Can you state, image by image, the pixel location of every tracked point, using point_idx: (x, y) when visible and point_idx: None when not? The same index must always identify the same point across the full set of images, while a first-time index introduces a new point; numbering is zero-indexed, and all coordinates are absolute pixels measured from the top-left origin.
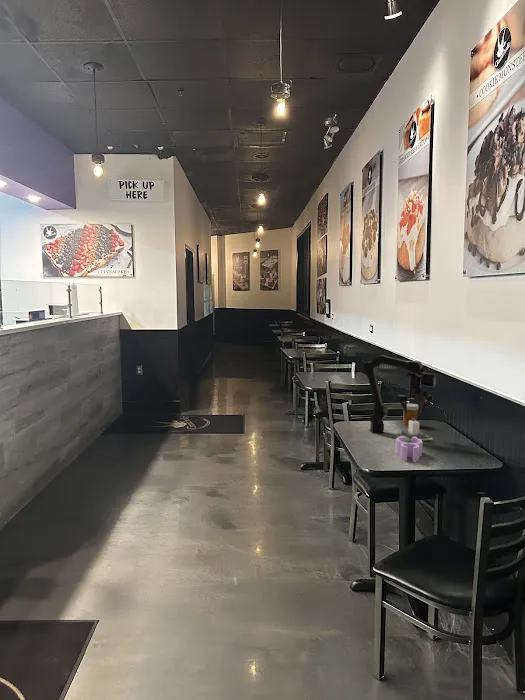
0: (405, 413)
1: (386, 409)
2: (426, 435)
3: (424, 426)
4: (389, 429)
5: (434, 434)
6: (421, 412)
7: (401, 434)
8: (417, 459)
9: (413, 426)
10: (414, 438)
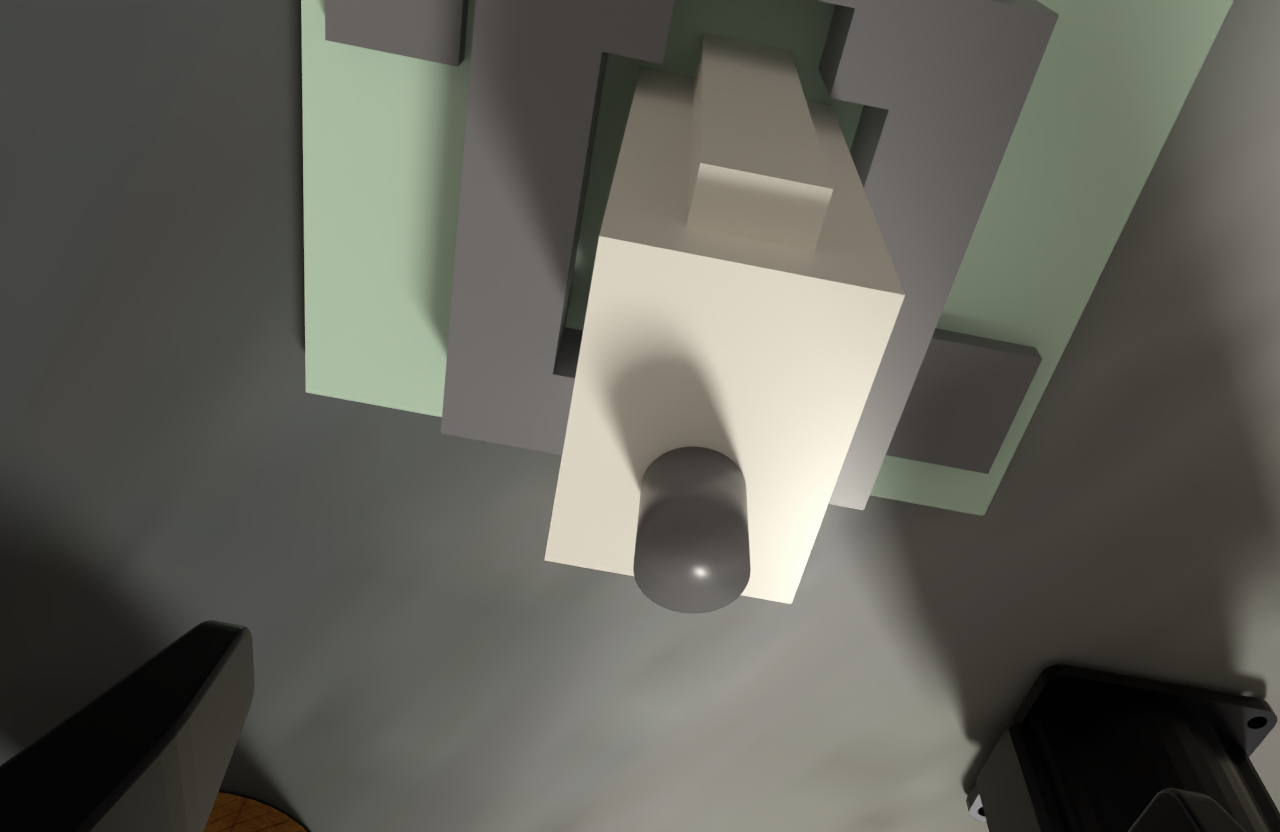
0: (1225, 829)
1: None
2: (317, 147)
3: (4, 728)
4: (751, 782)
5: (13, 254)
6: (227, 687)
7: (952, 379)
8: None
9: (862, 223)
10: None
